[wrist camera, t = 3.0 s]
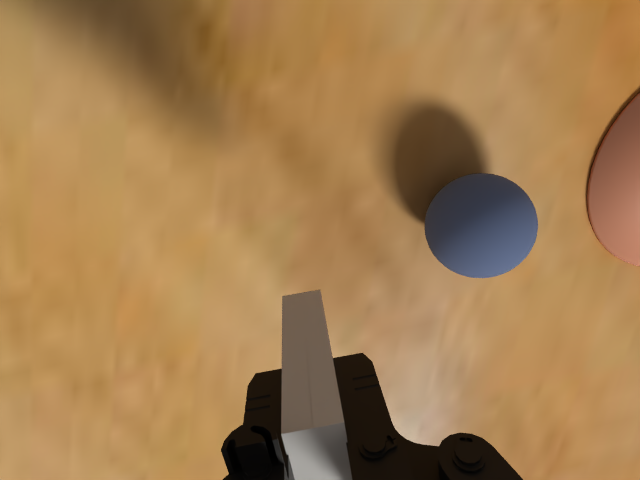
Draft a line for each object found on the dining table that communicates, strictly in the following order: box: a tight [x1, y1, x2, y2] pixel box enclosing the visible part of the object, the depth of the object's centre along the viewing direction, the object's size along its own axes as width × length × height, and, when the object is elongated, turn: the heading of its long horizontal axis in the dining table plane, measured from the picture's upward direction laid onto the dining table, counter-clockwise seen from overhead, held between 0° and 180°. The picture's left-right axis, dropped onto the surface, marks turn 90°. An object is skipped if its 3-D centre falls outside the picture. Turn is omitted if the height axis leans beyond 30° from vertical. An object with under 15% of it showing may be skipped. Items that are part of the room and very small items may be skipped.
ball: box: [425, 173, 538, 278], centre depth 21 cm, size 6×6×6 cm
